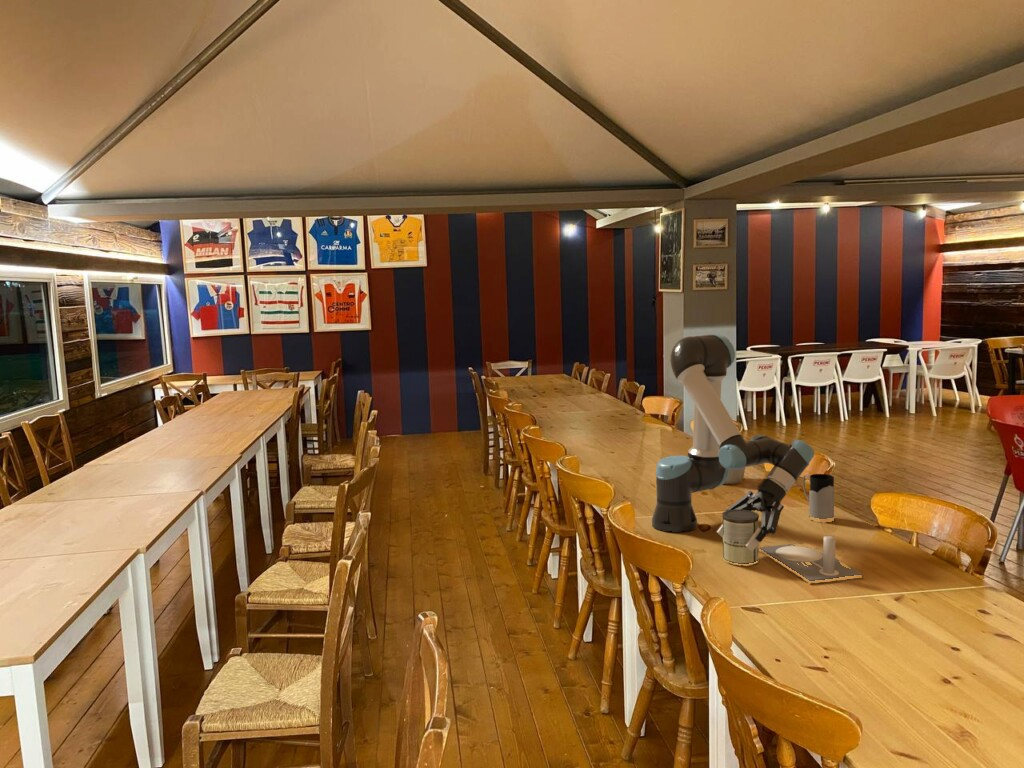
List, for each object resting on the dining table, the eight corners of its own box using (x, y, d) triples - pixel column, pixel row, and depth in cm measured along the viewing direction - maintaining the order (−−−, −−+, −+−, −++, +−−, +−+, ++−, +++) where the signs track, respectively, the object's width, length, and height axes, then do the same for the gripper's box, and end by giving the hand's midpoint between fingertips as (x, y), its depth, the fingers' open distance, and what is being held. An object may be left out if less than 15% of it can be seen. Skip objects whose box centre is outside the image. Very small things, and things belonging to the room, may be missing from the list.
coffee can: (717, 555, 224) (717, 510, 222) (751, 553, 224) (751, 508, 222) (729, 567, 214) (728, 520, 212) (764, 565, 214) (764, 518, 212)
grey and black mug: (819, 524, 249) (819, 480, 247) (792, 512, 262) (792, 471, 260) (841, 521, 251) (841, 478, 249) (813, 509, 264) (813, 469, 263)
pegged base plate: (809, 584, 199) (809, 544, 198) (759, 551, 226) (759, 515, 224) (863, 578, 202) (863, 538, 201) (807, 546, 228) (807, 510, 227)
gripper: (813, 503, 210) (769, 562, 207) (756, 483, 233) (716, 536, 230) (798, 487, 208) (753, 547, 204) (742, 469, 231) (701, 522, 228)
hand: (733, 541), depth 217 cm, fingers open, 13 cm apart
